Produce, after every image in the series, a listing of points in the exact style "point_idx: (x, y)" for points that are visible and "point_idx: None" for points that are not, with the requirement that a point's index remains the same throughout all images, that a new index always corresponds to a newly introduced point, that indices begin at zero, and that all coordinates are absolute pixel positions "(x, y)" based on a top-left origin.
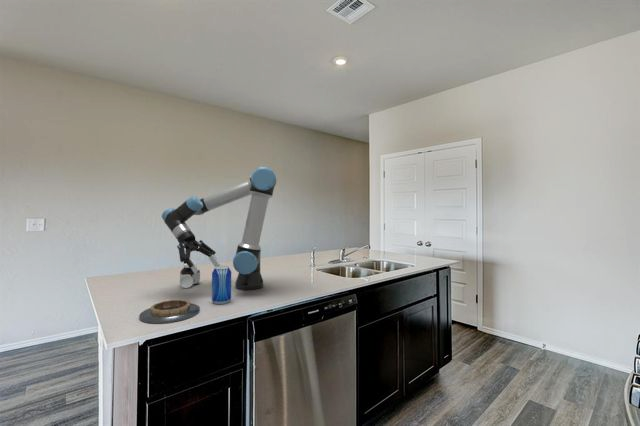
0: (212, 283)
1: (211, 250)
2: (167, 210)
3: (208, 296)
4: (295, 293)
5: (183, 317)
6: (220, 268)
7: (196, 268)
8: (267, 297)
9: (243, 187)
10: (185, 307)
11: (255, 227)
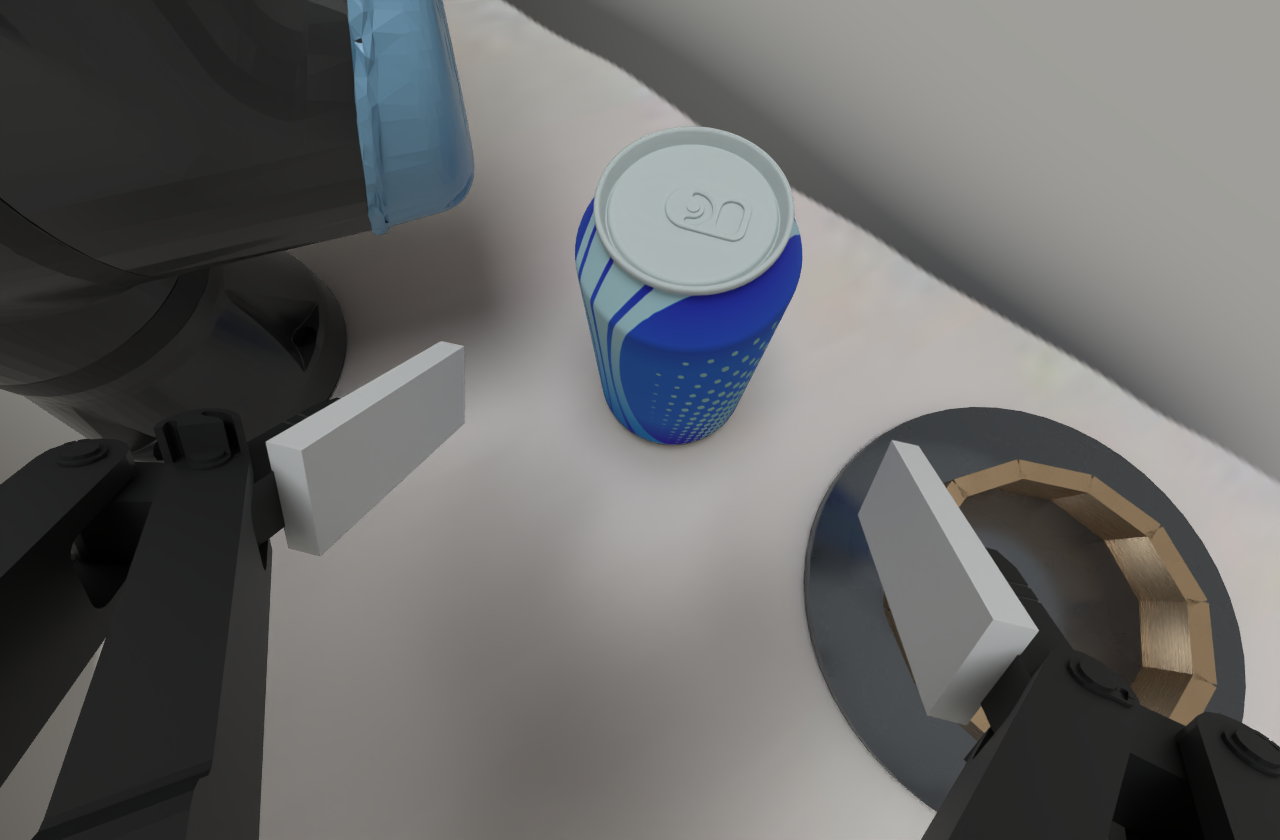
0: (751, 369)
1: (59, 517)
2: None
3: (551, 557)
4: None
5: (1079, 434)
6: (742, 202)
7: (928, 472)
8: (519, 156)
9: None
10: (1033, 464)
11: None
